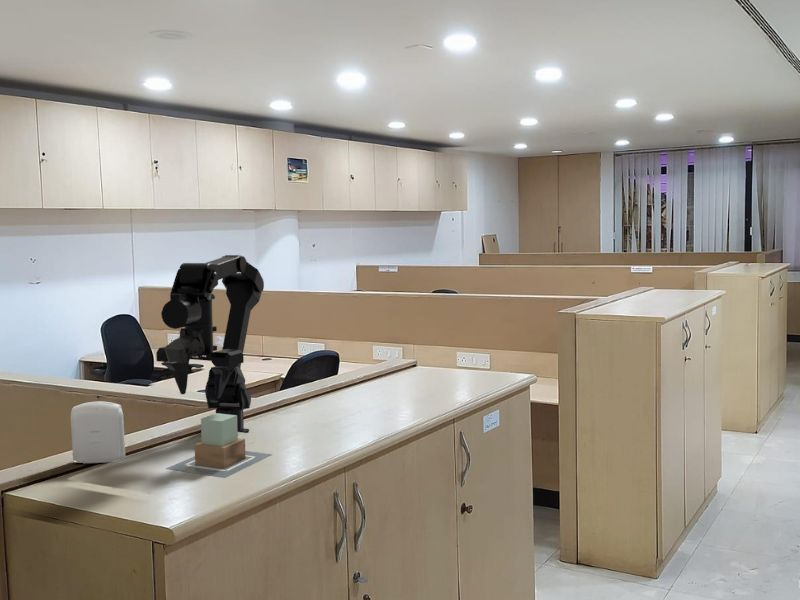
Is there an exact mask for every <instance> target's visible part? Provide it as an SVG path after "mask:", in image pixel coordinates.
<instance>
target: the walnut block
mask: <svg viewBox="0 0 800 600" xmlns="http://www.w3.org/2000/svg"><path fill="white" fill-rule="evenodd" d="M245 451H246V439H245V438H239V437H238V440H236V441H234V442H232V443H229V444H227V445H225V446H216V445H208V444H202V441H200V442H196V443H195V444H194V456H195V464H197V465H204V466H211V467H218V468H226V467H229V466H231V465H233V464H235V463H237V462H239V461H241V460H243V459H246V458H245Z"/></svg>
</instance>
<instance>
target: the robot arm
mask: <svg viewBox="0 0 800 600" xmlns="http://www.w3.org/2000/svg"><path fill="white" fill-rule="evenodd" d="M219 280H221V283H222V284H223V286H224V288H225V289H226V291H225V294H226V297H227V299H228V302H229V304H230V307H229V311H228V312H229V313H228V318H227V323H226V328H225V334H224V337H223V342H222V343H223V344H222V348H221V349H220V350H218V345H214V332H217V330H218V329H217V326H216V325H215V326H214V325H213V322H214V321H213V300H215V298H216V296H215V295H214V293H213V292H214V289H215V288H216V287H217V286H219ZM264 281H265V280H264V278H263V276H262V275H261V273H260V271H259V269H257V267H255V266H254V265H252V264H251V263H250V262H248V261H247V259H246V257H245V256H243V255H240V254H225V255H223V256H221V257H220V258H215V259H213V260H211V261H207V262H183V263H181V264H180V266H179V268H178V269H177V271H176V275H175V278H174V281H173V283H172V288H171V290H170V294H169V297H170V298H169V301H167V302H166V303H165V304H164V305H163V307H162V309H161V319H162V321H163V323H164V324H165V325H166V326H167V327H168V328H170V329H175V330H176V329H180V330H179V336H178V338H175V339H174V340H172V341H171V342H169V343H168V344H167V345H165V346H161V347H159V348H158V349H157V351H156V360H155V361H156V362H161V365H162V366H164V367H166V368H167V369H169V370H170V372H171V373H172V375H173V378H174V380H175V383H176V386H177V388H178V390H179V393H180V394H181V395H185V394H186V392H187V389H188V387H187V386H188V380H189V379H188V377H189V376H188V375H189V367H190V360H195V361H196V360H198V361H209V362H211V363H212V365H213V366H211V367H210V369H209V371H208V377H207V382H206V385H205V388H204V393H205V394H204V395H205V398H206V404H207V408H208V410H209V409H210V410H211V409H215V414H216V413H219V414H228V415H237V430H238V433H243V434H245V433H249V432H250V428H245V426H244V425H245V424H244V422H245V421H244V410H247V409H250V407H251V403H252V396H251V394H250V392H249V390H248V388H247V386H246V378H245V375H244V373H243V371H242V369H241V368H242V364H243V363H244V362H245V361H244V360H245V359H244V349H245V344H246V339H247V332H248V328H249V323H250V317H251V312H252V310H253V309H254V308H255V306H256V305H257V304H258V303H259V302H260V300H261V295H262V293H263V291H264V287H265V282H264Z"/></svg>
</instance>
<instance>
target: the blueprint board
mask: <svg viewBox="0 0 800 600" xmlns="http://www.w3.org/2000/svg"><path fill="white" fill-rule="evenodd" d="M271 456H273V454H272V453H264V452H257V451H249V450H245V458H246V459H243V460H241V461H239V462H237V463H235V464H233V465H231V466H229V467H226V468H218V467H211V466H204V465H197V464H195V455H194V456H192V457H190V458H187V459H185V460H182V461H179V462H178V463H176V464H174V465H171V466H169V467H166V468H165V470H171V471H178V472H184V473H190V474H197V475H204V476H209V477H211V476H212V477H215V478H216V477H218V478H224V479H226V478H228V477H230V476H232V475H235V474H236V473H239V472H240V471H243V470H244V469H247V468H249V467H250V466H252V465H255V464H256V463H259V462H260V461H263V460H265V459H267V458H269V457H271Z"/></svg>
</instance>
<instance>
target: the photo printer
mask: <svg viewBox="0 0 800 600" xmlns="http://www.w3.org/2000/svg"><path fill="white" fill-rule="evenodd" d="M124 423H125V422H124V413H123V407H122V405H121V404H118V403H116V402H112V401H111V402H109V401H100V400H99V401H97V400H96V401H88V402H84V403H81V404H78V405H75V406H73V408H71V412H70V430H71V433H70V434H71V445H72V446H71V447H72V448H71V450H72V460H76V461H79V462H81V463H83V464H98V463H99V464H100V463H101V464H102V463H113V462H115V461H117V460H118V461H119V460H120V459H123V458H125V457H126V441H125V427H124V426H125V424H124Z"/></svg>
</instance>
